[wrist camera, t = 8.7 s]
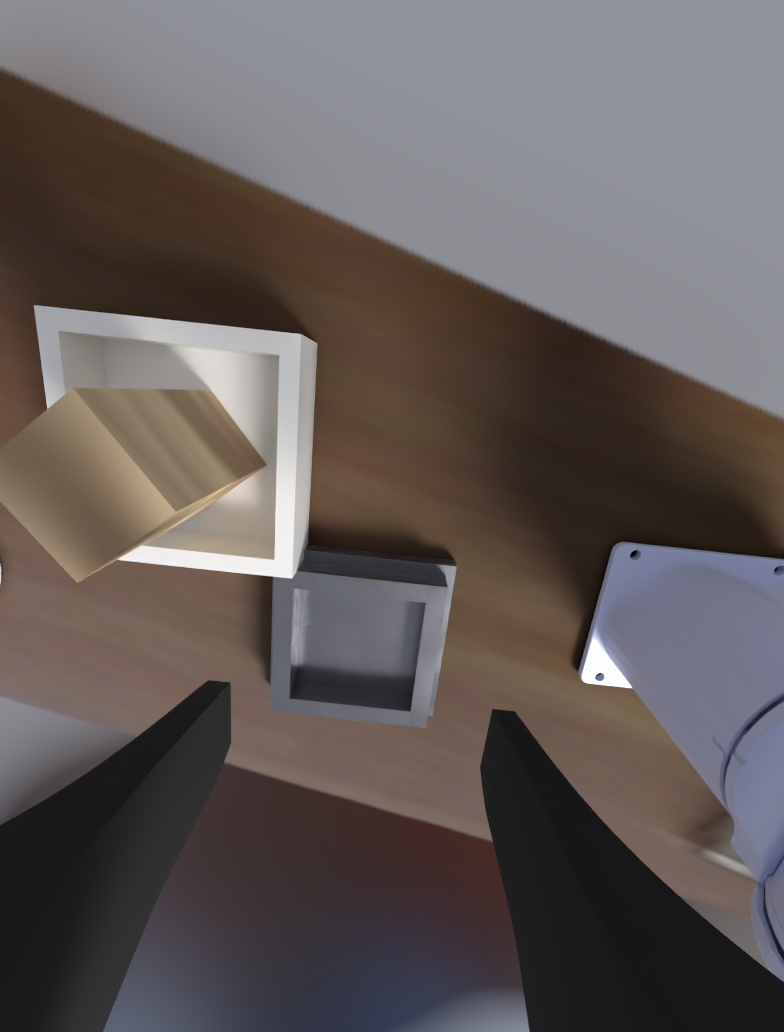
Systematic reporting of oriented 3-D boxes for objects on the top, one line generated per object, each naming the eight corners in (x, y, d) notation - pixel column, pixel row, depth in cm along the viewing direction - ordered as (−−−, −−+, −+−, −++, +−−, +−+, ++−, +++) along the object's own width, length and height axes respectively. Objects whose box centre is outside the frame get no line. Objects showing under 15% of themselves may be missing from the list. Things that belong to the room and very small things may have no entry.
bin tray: (317, 343, 18) (301, 334, 15) (307, 553, 21) (292, 578, 18) (92, 319, 18) (33, 305, 15) (112, 532, 21) (66, 554, 18)
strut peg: (211, 390, 18) (72, 387, 11) (267, 464, 19) (175, 512, 12) (145, 440, 19) (-28, 471, 11) (202, 509, 20) (77, 582, 12)
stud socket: (454, 560, 21) (460, 578, 19) (431, 706, 24) (434, 736, 21) (278, 541, 21) (264, 557, 19) (274, 689, 24) (261, 717, 21)
